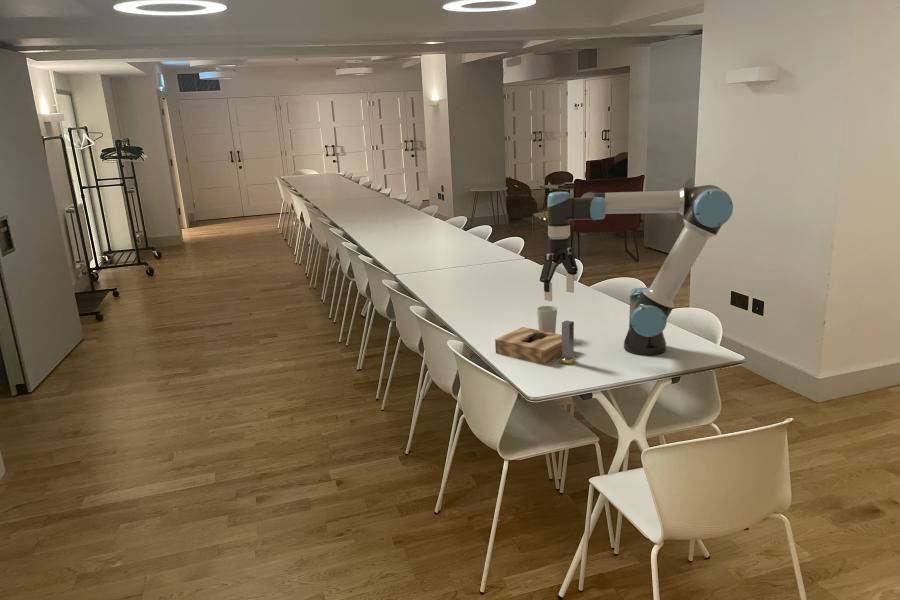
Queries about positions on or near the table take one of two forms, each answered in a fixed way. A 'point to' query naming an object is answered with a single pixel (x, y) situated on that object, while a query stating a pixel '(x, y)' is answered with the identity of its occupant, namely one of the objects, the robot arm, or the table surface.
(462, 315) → the table surface
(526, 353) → the keyhole box
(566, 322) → the stud
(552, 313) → the cup
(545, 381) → the table surface
